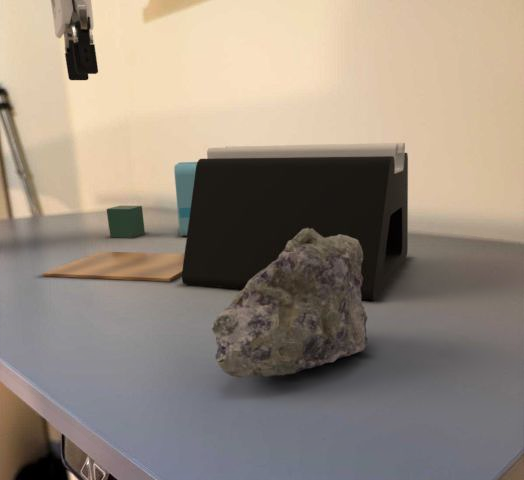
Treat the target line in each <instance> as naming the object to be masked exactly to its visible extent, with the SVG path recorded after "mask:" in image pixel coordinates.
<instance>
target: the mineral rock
mask: <svg viewBox="0 0 524 480" xmlns="http://www.w3.org/2000/svg"><path fill="white" fill-rule="evenodd" d="M362 262H363V251H362V248H361V245H360V243H359V241H358V240H357V239H354V238H351V237H349V236H346V235H341V234H339V235H337V236H330V237H326V238H324V237H322V236H321V235H320V234H318V233H317V232H316V231H315V230H314V229H313V228H312V229H309V228H306V229H302V230H301V231H300V232H299V233H298V234H297V235H296V236H295V237H294V238H293V239H292V240H290V241H288V243H287V245H286V247H285V249H284V250H283V252H282V253H281V254H280V255H279V257H278V259H277V260H275V261H274V262H272V263H271V264H270V265H269V266H268V267H267V268H265V269H263V270H261V271H260V272H259V273H258V274H256V275H255V276H254V277H253V278H252V279H250V280H249V281H248V283H247V284H246V286H245V288H244V289H241V290H240V291H239V292H238V293H237V294H236V295H235V296H234V298H233V300H232V301H231V302H230V303H229V306H228V307H226V308H224V309H223V311H222V312H221V313H220V314H218V316H217V317H216V318H215V319H214V320H213V322H212V323H211V330H212V334H213V335H214V336H215V338H216V339H215V342H216V345H217V350H216V354H215V355H214V356H215V362H216V363H217V364H218V366H219V368H220V369H221V370H222V372H223V373H225V374H226V375H228V376H231V377H235V378H246V377H265V378H267V377H273V376H285V375H292V374H296V373H298V372H301V371H303V370H307V369H313V368H315V367H318V366H323V365H325V364H328V363H334V362H335V361H337V360H338V359H341V358H344V357H350V356H351V355H355V354H357V353H361V352H363V351H364V350H365V348H366V347H367V345H368V338H367V321H368V315H367V311H366V310H365V307H364V306H363V302H362V299H361V291H360V287H361V286H362V282H363V277H362V274H361V265H362Z"/></svg>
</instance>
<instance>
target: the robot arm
mask: <svg viewBox="0 0 524 480" xmlns="http://www.w3.org/2000/svg"><path fill="white" fill-rule="evenodd" d="M50 5H51V12H52V19H53V27H54V34H55V37H56V38H58V39H61V38H62V37H63V41H64V52H65V53H64V57H65V64H66V70H67V76H68V79H69V81H88V80H89V78H90V77H89V75H97V74H99V68H98V67H99V66H98V60H97V59H98V58H97V53H96V46H95V43H94V42H95V41H94V35H93V30H94V14H93V6H92V5H93V4H92V0H50Z"/></svg>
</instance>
